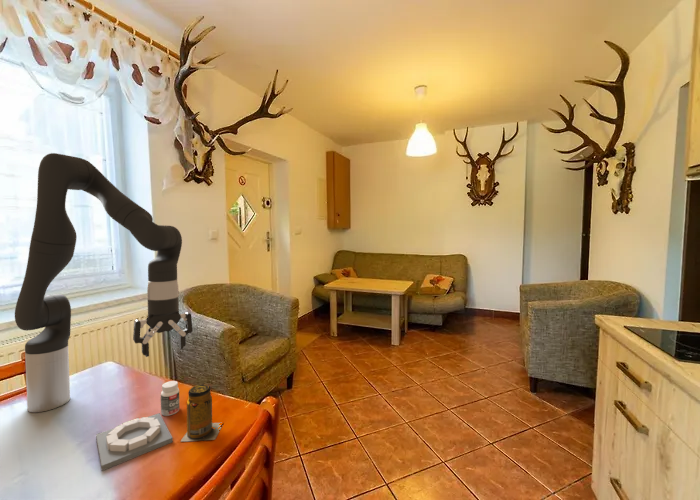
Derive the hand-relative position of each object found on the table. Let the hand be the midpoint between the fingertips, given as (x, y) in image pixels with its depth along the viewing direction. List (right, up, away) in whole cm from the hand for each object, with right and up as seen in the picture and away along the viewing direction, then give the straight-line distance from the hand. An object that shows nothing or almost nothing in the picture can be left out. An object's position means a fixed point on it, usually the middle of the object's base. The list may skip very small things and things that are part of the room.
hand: (164, 352), depth 87 cm
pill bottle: (0, -19, +3) cm, 19 cm away
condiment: (+14, -20, -6) cm, 25 cm away
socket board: (-2, -19, -10) cm, 22 cm away
